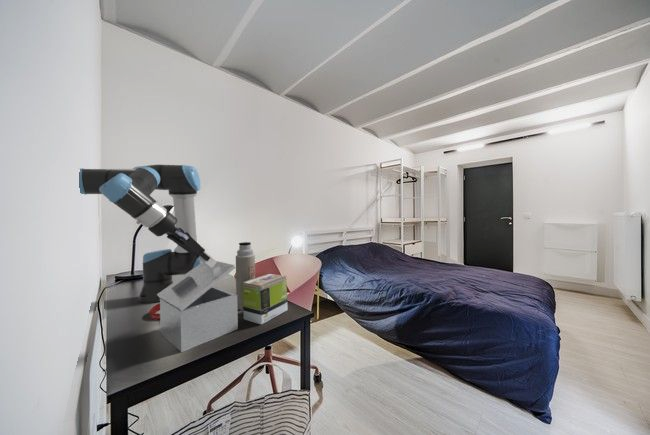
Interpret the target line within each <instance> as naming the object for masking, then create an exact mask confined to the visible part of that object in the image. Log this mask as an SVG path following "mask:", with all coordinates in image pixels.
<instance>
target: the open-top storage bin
mask: <svg viewBox="0 0 650 435" xmlns="http://www.w3.org/2000/svg"><path fill="white" fill-rule="evenodd" d="M159 303H160V310H159V314H160V320H159V322H160V323H159V324H160V325H159V326H160V335H161V336H163V337H164V338H165V339H166V340H167V341H168V342H169V343H170V344H172V346H174V347H175V348H176V349H177V350H178V351H179V352H180V353H183V352H186V351H189V350H191V349H193V348H195V347H198V346H200V345H203V344H205V343H207V342H210V341H212V340H215V339H217V338H220V337H222V336H225V335H227V334H229V333H233V332H234V331H237V330H238V329H239V325H238V324H239V323H238V322H239V320H238V319H239V318H238V317H239V316H238V315H239V314H238V309H237V295H236V293H233V292H231V291H227V290H225V289H222V288H219V287H218V286H217V287H216V286H215V285H214V286H212V287H211V288H210V289H209V290H208V291H206V292H205V293H204V294H203V295H201V296H200V297H199V298H198V299H196V300H195V301H194V302H193V303H191V304H190V305H189V306H188V307H187V308H185V309H184V310H183V311H181V310H179V309H177V308H176V307H174V306H173V305H171V304H169V303H168V302H166V301H164V300H163V299H161V298H160V301H159Z"/></svg>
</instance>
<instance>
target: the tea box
mask: <svg viewBox="0 0 650 435" xmlns="http://www.w3.org/2000/svg"><path fill="white" fill-rule="evenodd" d="M287 286H288V284H287V275H282V274H274V273H273V274H271V273H266V274H264V275H261V276H257V277H255V278H254V279H251V280H248V281H245V282H242V290H243V310H242V311H243V320H245V321H248V322H252V323H255V324H258V325H263V324H266V323H267V322H269V321H271V320H272V319H274V318H276V317H278V316H279V315H281V314H283V313H285V312H288V288H287Z"/></svg>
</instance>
